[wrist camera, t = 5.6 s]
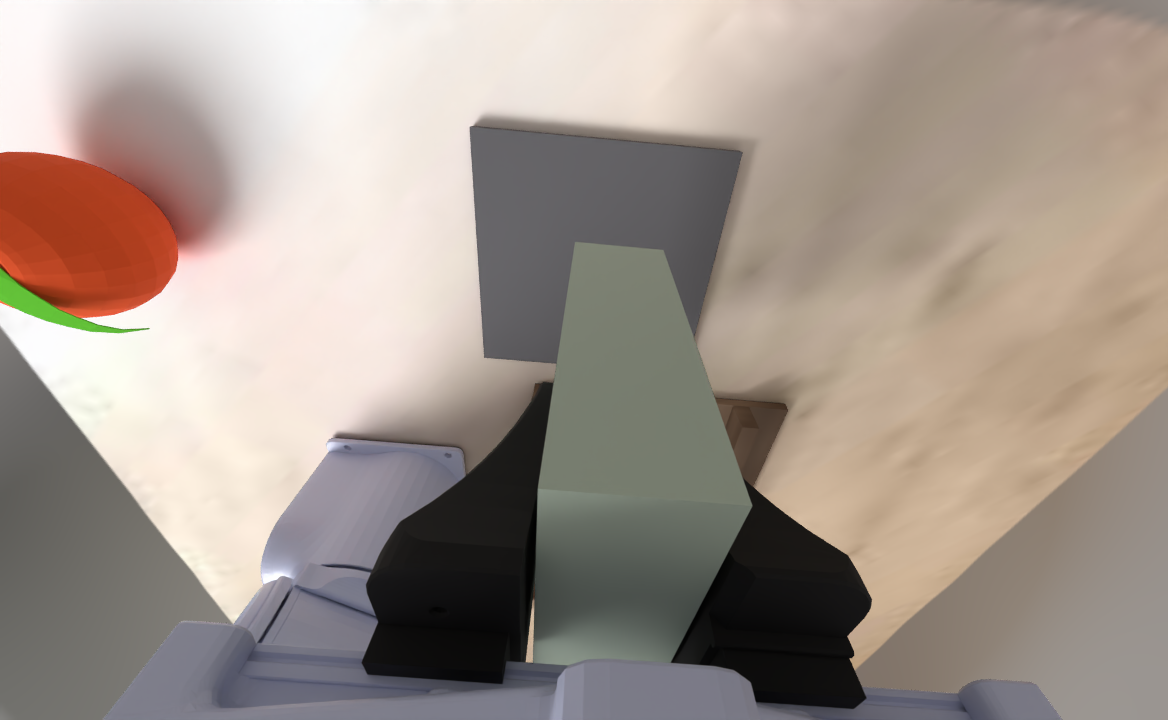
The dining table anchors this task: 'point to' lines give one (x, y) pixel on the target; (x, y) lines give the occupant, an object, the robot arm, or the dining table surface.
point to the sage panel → (629, 469)
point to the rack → (748, 431)
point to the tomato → (78, 241)
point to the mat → (585, 223)
